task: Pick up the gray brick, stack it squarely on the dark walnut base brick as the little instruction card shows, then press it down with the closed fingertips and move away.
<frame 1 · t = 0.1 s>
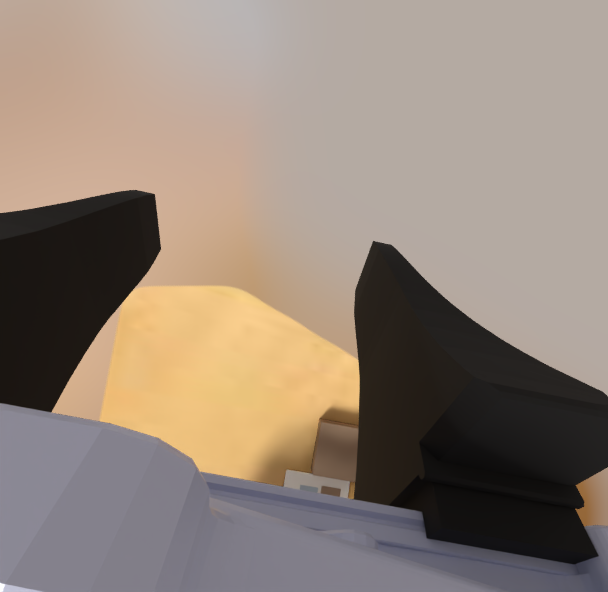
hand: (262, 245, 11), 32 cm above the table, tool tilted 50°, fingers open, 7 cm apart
instruction card: (314, 496, 39), on the table
base brick: (338, 447, 40), on the table
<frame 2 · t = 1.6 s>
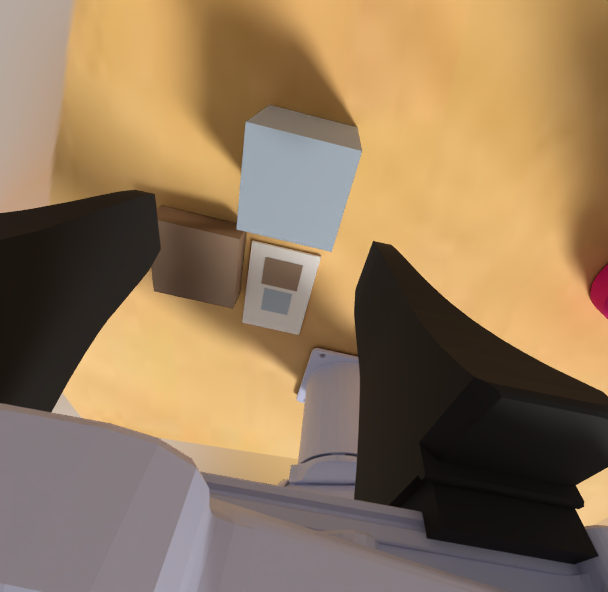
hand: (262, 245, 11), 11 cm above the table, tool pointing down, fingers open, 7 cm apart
gray brick: (304, 161, 19), on the table
instruction card: (278, 291, 25), on the table
base brick: (203, 252, 24), on the table
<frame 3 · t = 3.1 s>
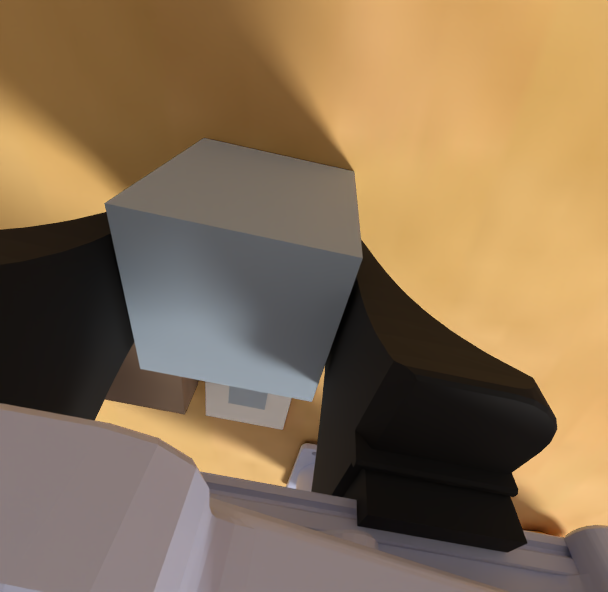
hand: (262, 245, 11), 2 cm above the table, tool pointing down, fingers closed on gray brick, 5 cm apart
gray brick: (270, 223, 12), on the table, touching gripper
instruction card: (250, 383, 18), on the table
base brick: (139, 338, 17), on the table
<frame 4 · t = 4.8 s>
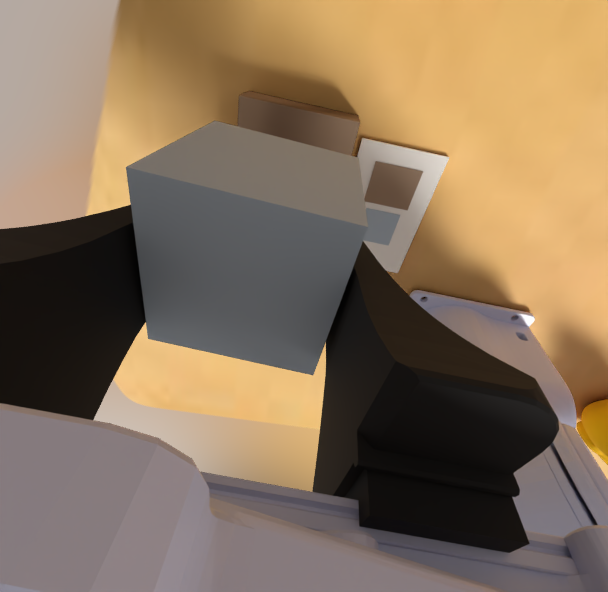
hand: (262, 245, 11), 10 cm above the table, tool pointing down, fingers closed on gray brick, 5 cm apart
duckling: (599, 405, 30), on the table
gray brick: (276, 208, 12), point 8 cm above the table, touching gripper
instruction card: (382, 213, 20), on the table
base brick: (294, 160, 19), on the table
when the fingers open (5 cm above the table, at t = 6.4 s): gray brick stays where it is, resting on base brick.
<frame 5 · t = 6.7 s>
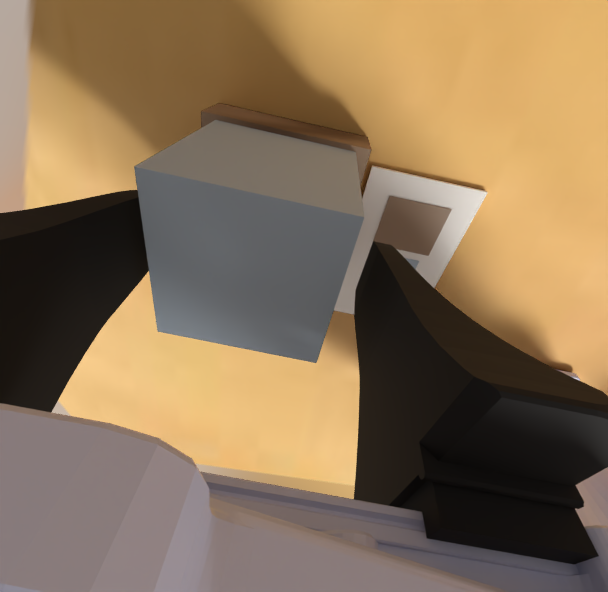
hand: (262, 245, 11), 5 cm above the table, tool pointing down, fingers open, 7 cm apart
gray brick: (276, 203, 13), point 2 cm above the table, touching base brick
instruction card: (395, 257, 16), on the table
base brick: (283, 193, 14), on the table
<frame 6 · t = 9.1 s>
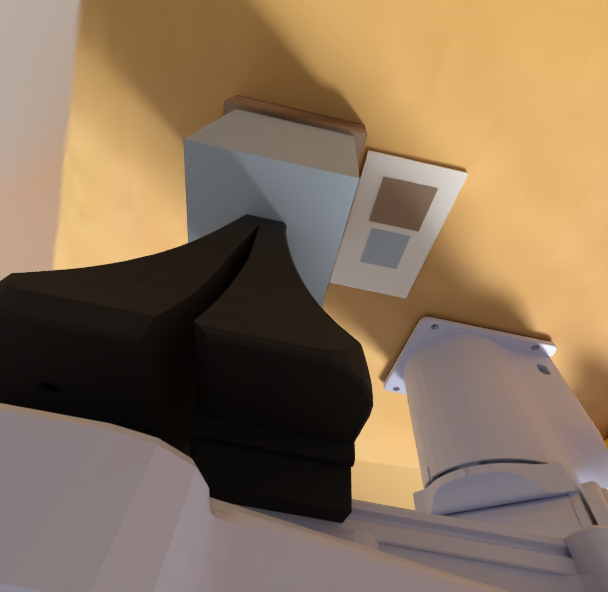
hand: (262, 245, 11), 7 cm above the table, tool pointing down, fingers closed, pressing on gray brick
gray brick: (286, 181, 15), point 2 cm above the table, touching base brick, gripper
instruction card: (389, 233, 18), on the table
base brick: (290, 175, 17), on the table
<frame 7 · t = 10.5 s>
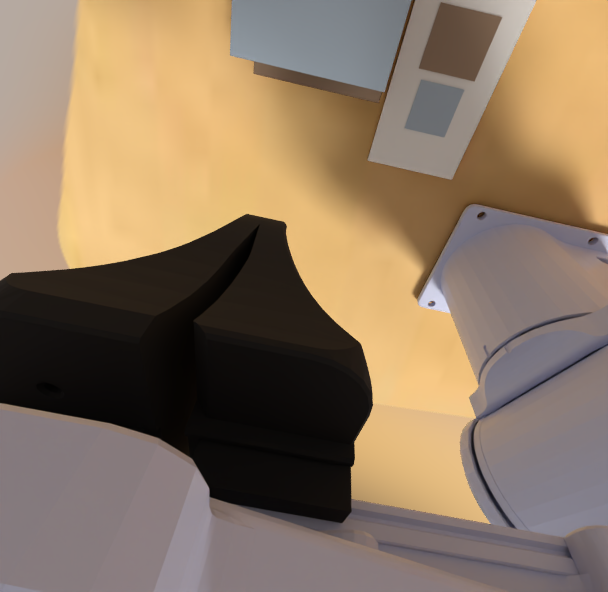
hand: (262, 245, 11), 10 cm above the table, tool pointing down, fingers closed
instruction card: (439, 88, 16), on the table
base brick: (333, 8, 15), on the table
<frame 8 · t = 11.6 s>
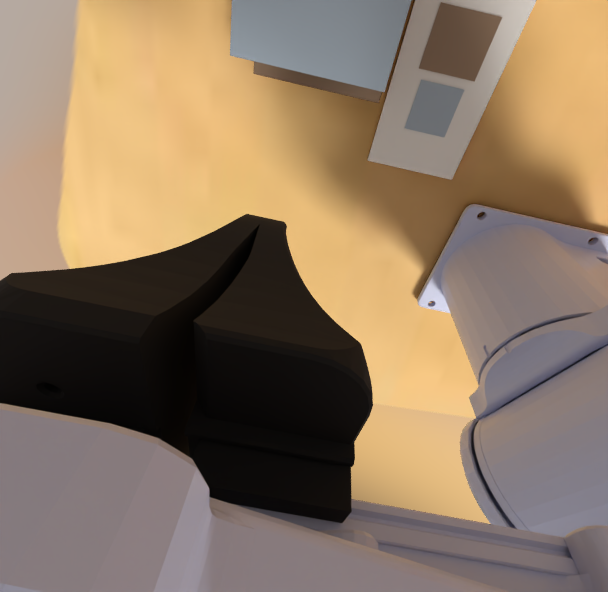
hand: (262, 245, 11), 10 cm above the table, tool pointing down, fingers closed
instruction card: (439, 88, 16), on the table
base brick: (333, 8, 15), on the table
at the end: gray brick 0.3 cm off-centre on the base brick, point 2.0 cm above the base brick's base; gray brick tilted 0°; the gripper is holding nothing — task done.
